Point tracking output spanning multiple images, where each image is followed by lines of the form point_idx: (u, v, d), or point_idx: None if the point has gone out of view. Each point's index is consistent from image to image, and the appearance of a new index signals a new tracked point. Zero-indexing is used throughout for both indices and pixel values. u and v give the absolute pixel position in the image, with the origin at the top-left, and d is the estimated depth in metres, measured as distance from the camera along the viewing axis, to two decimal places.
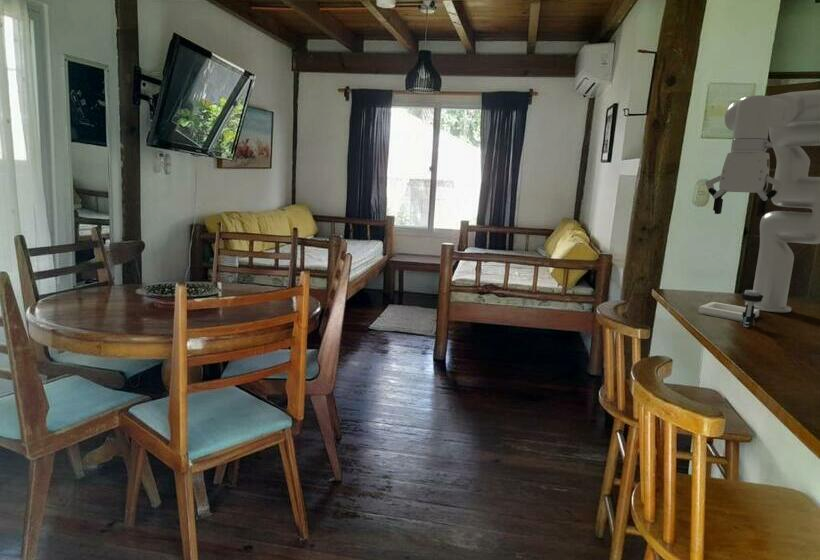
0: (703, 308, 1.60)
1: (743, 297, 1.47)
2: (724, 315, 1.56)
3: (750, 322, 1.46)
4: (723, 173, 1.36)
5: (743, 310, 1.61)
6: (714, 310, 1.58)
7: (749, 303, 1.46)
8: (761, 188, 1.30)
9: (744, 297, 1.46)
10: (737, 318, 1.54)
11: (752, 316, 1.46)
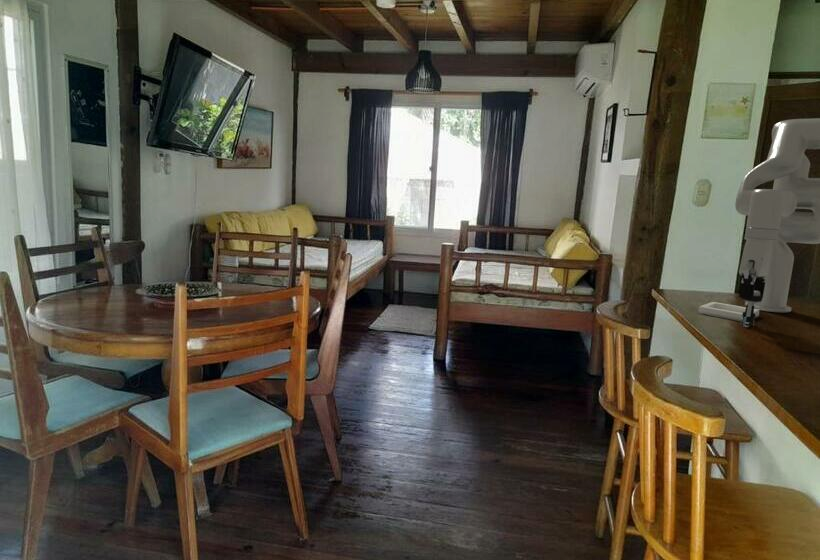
0: (703, 308, 1.60)
1: None
2: (724, 315, 1.56)
3: (750, 322, 1.46)
4: (761, 261, 1.40)
5: (743, 310, 1.61)
6: (714, 310, 1.58)
7: (749, 303, 1.46)
8: None
9: None
10: (737, 318, 1.54)
11: (752, 316, 1.46)
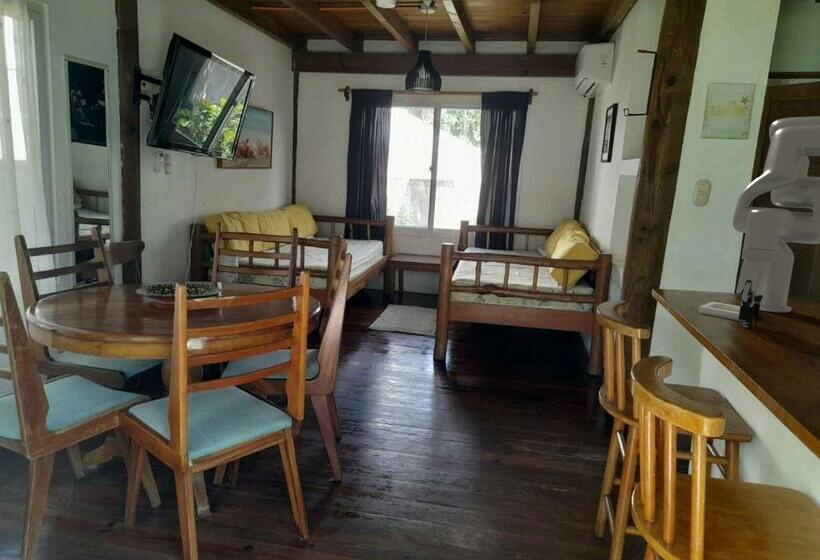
0: (703, 308, 1.60)
1: None
2: (724, 315, 1.56)
3: (750, 322, 1.45)
4: (759, 281, 1.41)
5: None
6: (714, 310, 1.58)
7: None
8: None
9: None
10: (737, 318, 1.54)
11: None
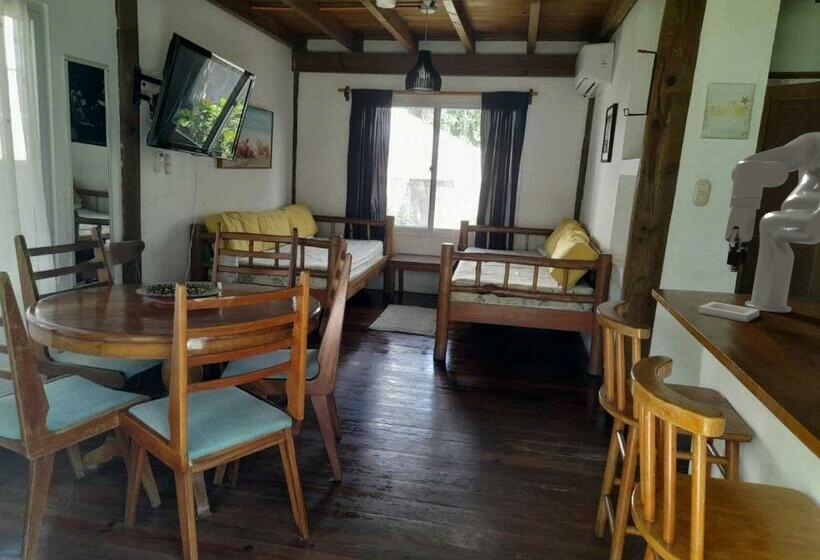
0: (703, 308, 1.60)
1: None
2: (724, 315, 1.56)
3: (737, 267, 1.56)
4: (745, 227, 1.51)
5: (743, 310, 1.61)
6: (714, 310, 1.58)
7: None
8: None
9: None
10: (737, 318, 1.54)
11: None
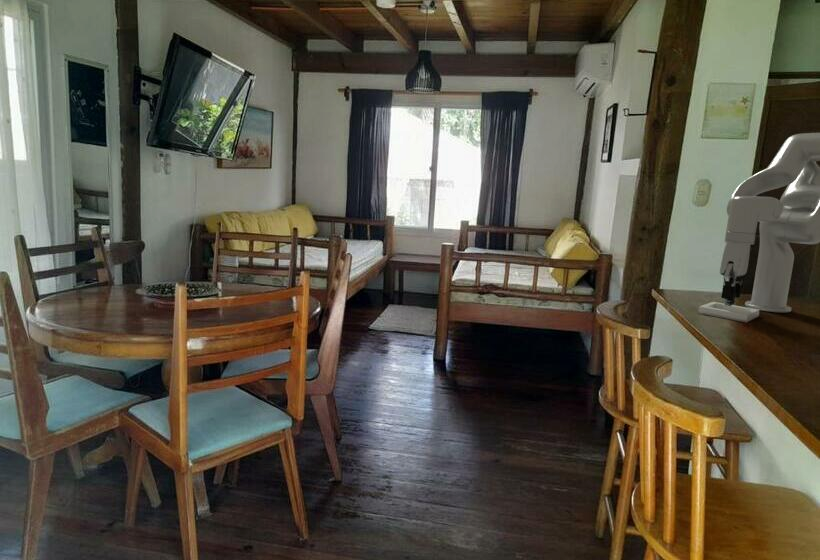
0: (703, 308, 1.60)
1: None
2: (724, 315, 1.56)
3: (731, 300, 1.58)
4: (739, 262, 1.53)
5: (743, 310, 1.61)
6: (714, 310, 1.58)
7: None
8: None
9: None
10: (737, 318, 1.54)
11: None
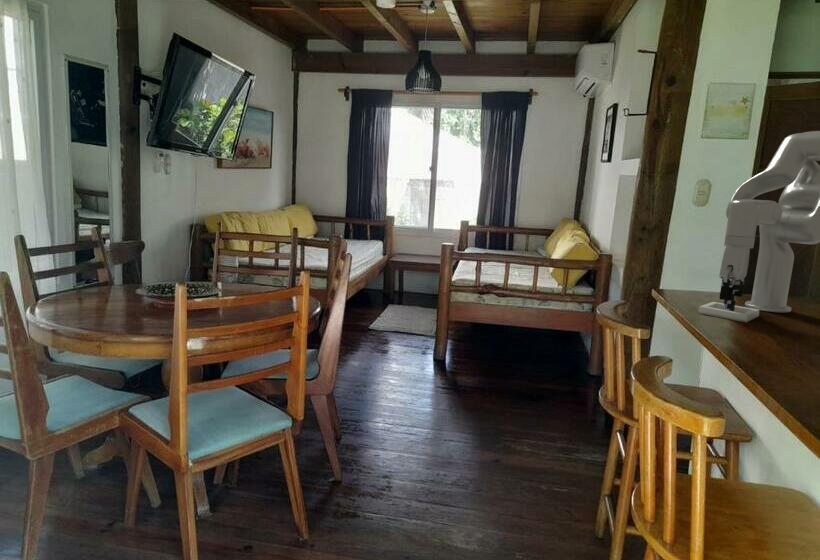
0: (703, 308, 1.60)
1: None
2: (724, 315, 1.56)
3: (730, 309, 1.58)
4: (739, 266, 1.54)
5: (743, 310, 1.61)
6: (714, 310, 1.58)
7: None
8: None
9: None
10: (737, 318, 1.54)
11: (732, 303, 1.59)
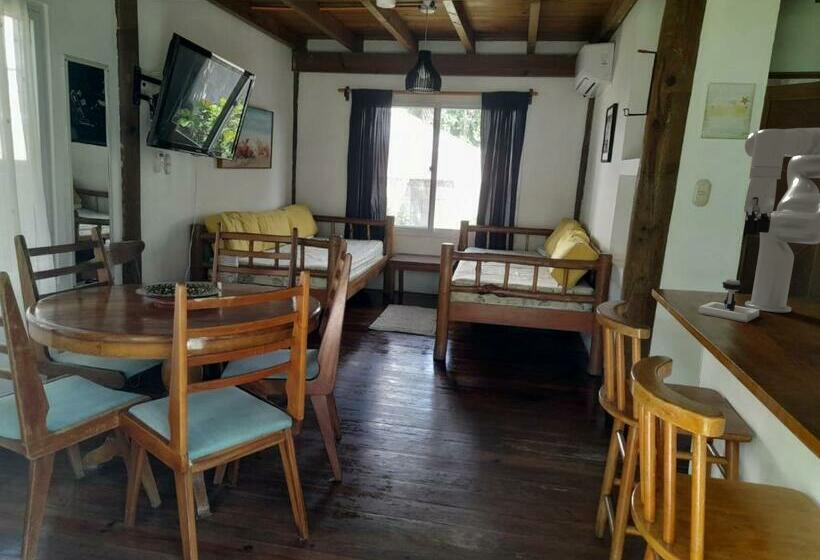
0: (703, 308, 1.60)
1: (724, 286, 1.59)
2: (724, 315, 1.56)
3: (730, 309, 1.58)
4: (765, 197, 1.48)
5: (743, 310, 1.61)
6: (714, 310, 1.58)
7: (730, 291, 1.58)
8: None
9: (725, 286, 1.59)
10: (737, 318, 1.54)
11: (732, 303, 1.59)
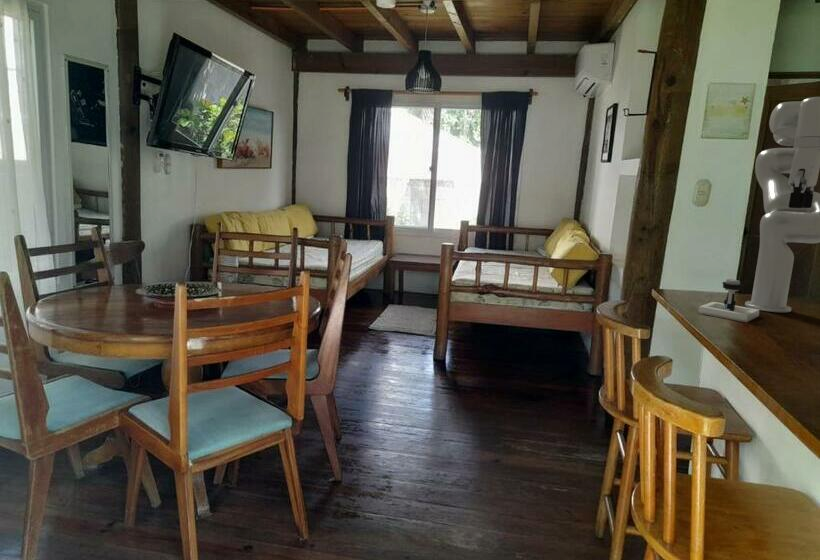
0: (703, 308, 1.60)
1: (724, 286, 1.59)
2: (724, 315, 1.56)
3: (730, 309, 1.58)
4: (812, 169, 1.40)
5: (743, 310, 1.61)
6: (714, 310, 1.58)
7: (730, 291, 1.58)
8: None
9: (725, 286, 1.59)
10: (737, 318, 1.54)
11: (732, 303, 1.59)
